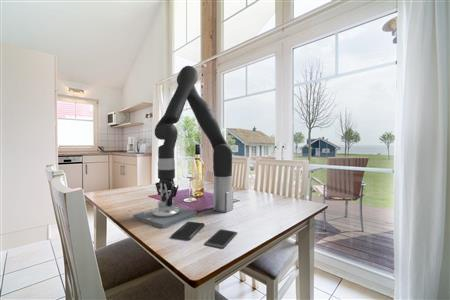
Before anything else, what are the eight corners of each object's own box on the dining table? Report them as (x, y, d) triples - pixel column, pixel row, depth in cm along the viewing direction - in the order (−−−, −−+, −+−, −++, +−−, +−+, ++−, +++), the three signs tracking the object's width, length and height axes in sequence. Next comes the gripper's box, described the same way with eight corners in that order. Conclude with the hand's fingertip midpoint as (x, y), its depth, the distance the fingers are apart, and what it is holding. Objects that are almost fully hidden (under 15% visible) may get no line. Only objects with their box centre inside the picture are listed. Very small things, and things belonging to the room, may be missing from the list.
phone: (205, 223, 90) (190, 238, 76) (205, 226, 90) (189, 241, 76) (187, 221, 92) (169, 235, 78) (187, 224, 92) (169, 238, 78)
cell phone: (203, 246, 73) (203, 243, 73) (220, 230, 86) (220, 228, 86) (223, 250, 70) (223, 248, 70) (237, 233, 83) (238, 231, 83)
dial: (174, 207, 108) (174, 196, 108) (183, 214, 98) (183, 202, 98) (141, 212, 100) (141, 200, 100) (147, 220, 90) (147, 207, 90)
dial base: (196, 214, 103) (196, 211, 103) (163, 228, 86) (163, 224, 86) (167, 207, 114) (167, 204, 114) (133, 218, 97) (133, 214, 97)
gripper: (183, 168, 98) (183, 206, 99) (162, 166, 106) (163, 201, 107) (170, 170, 92) (170, 210, 93) (149, 167, 100) (150, 204, 101)
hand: (166, 205), depth 100 cm, fingers closed on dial, 3 cm apart
